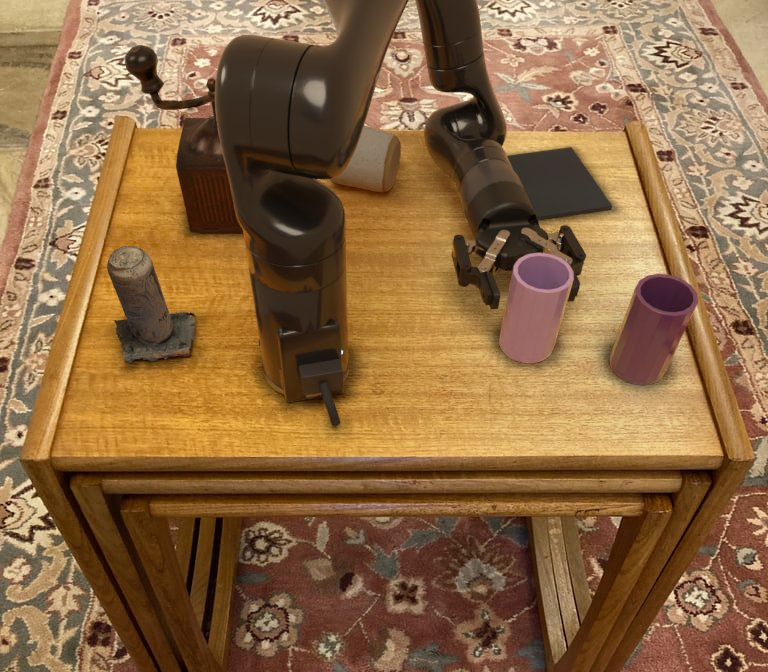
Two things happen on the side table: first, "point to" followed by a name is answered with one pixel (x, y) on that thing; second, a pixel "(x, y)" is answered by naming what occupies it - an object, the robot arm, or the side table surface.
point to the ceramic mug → (373, 162)
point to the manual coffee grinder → (193, 152)
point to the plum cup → (652, 328)
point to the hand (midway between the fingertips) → (534, 299)
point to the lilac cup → (535, 307)
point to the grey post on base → (146, 310)
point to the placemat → (558, 183)
